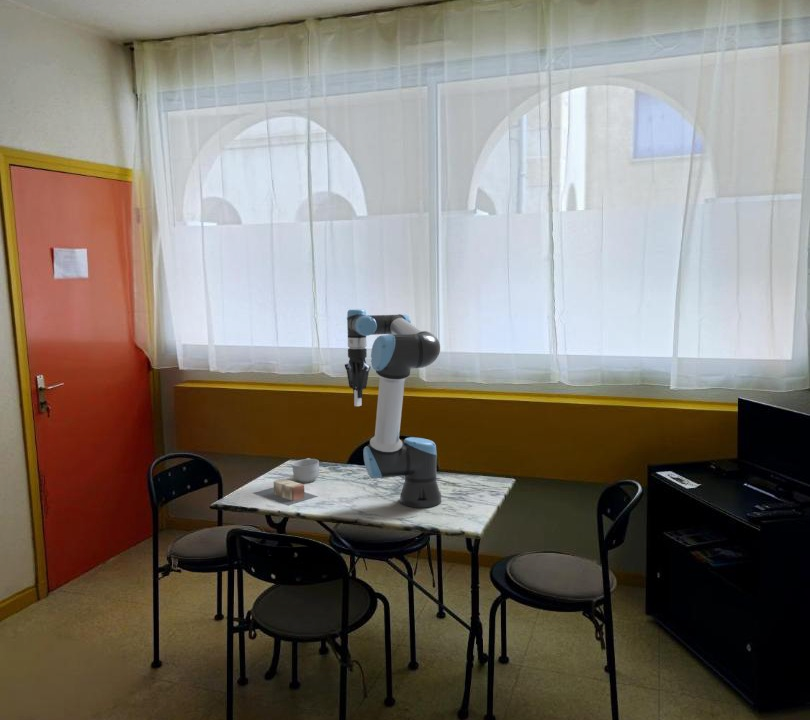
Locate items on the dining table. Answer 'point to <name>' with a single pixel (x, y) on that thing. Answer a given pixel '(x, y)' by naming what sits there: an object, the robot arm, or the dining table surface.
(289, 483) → the block
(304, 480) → the teacup
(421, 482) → the robot arm
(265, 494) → the mat
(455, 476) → the dining table surface
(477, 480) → the dining table surface
